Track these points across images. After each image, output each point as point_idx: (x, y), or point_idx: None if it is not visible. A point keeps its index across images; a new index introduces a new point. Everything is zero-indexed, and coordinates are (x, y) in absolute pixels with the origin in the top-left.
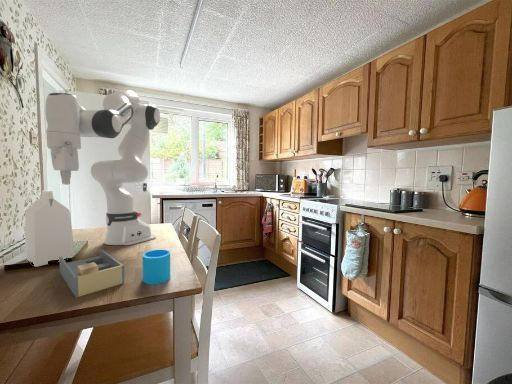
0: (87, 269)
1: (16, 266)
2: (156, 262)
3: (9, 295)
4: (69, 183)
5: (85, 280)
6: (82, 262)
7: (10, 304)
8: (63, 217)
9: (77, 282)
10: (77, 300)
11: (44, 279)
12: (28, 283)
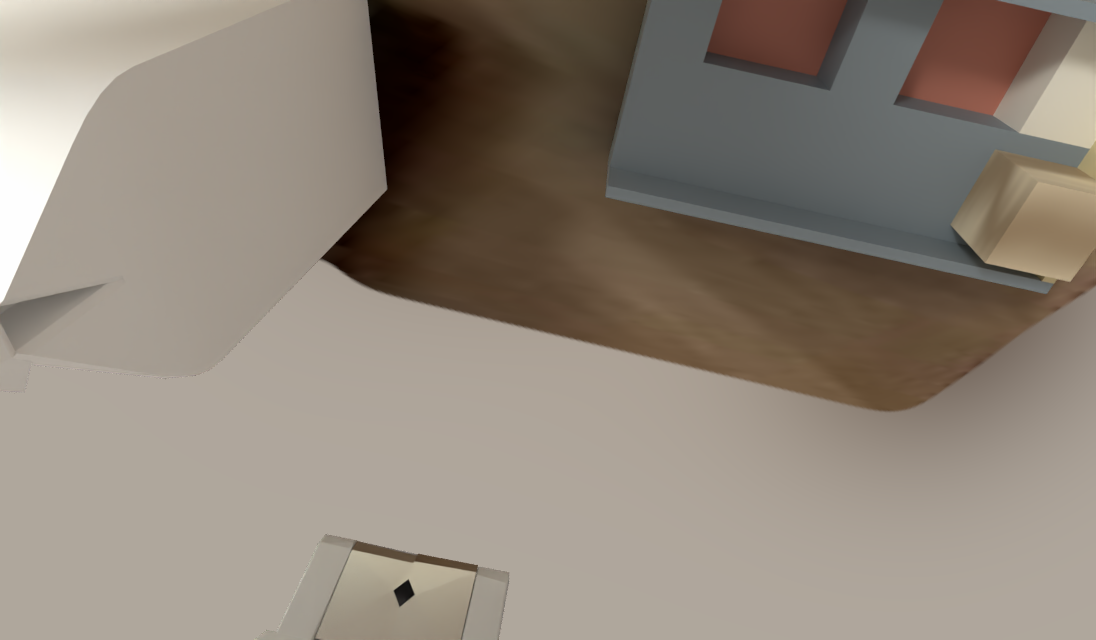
0: (1087, 250)
1: None
2: None
3: (689, 355)
4: (506, 587)
5: None
6: (702, 82)
7: (781, 375)
8: (184, 129)
9: None
10: None
11: (631, 231)
12: (619, 283)
